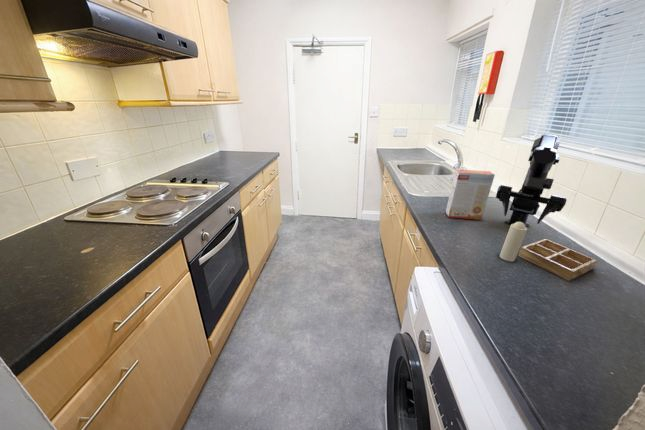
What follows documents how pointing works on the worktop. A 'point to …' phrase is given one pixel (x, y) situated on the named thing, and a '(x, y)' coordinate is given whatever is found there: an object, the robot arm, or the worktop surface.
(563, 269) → the grid
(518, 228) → the dome-topped white cylinder
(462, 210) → the cracker box
